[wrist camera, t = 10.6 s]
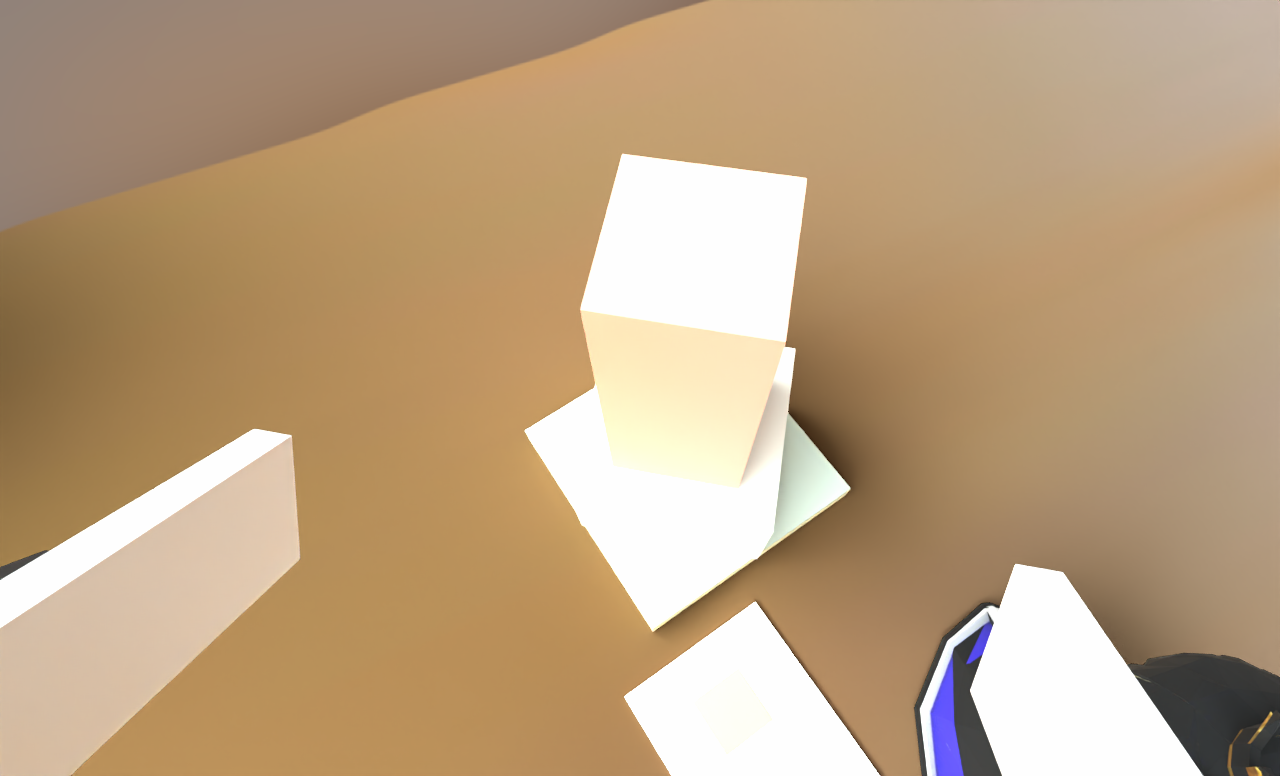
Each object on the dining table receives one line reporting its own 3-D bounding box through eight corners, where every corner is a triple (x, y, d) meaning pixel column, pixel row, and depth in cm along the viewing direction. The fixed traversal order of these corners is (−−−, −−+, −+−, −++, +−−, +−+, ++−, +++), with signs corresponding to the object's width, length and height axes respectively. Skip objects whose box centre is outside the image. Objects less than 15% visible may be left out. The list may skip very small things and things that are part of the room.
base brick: (581, 525, 32) (568, 494, 28) (618, 370, 36) (611, 319, 31) (757, 558, 31) (772, 532, 27) (778, 396, 35) (795, 348, 30)
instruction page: (624, 696, 30) (623, 696, 30) (754, 602, 32) (755, 601, 32) (753, 910, 27) (753, 911, 27) (892, 794, 29) (893, 794, 28)
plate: (529, 439, 36) (524, 430, 34) (708, 329, 38) (709, 317, 37) (652, 631, 31) (652, 628, 30) (844, 495, 34) (850, 488, 33)
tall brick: (613, 466, 28) (580, 310, 17) (637, 356, 30) (622, 154, 19) (738, 489, 28) (785, 341, 17) (754, 375, 30) (807, 178, 19)
